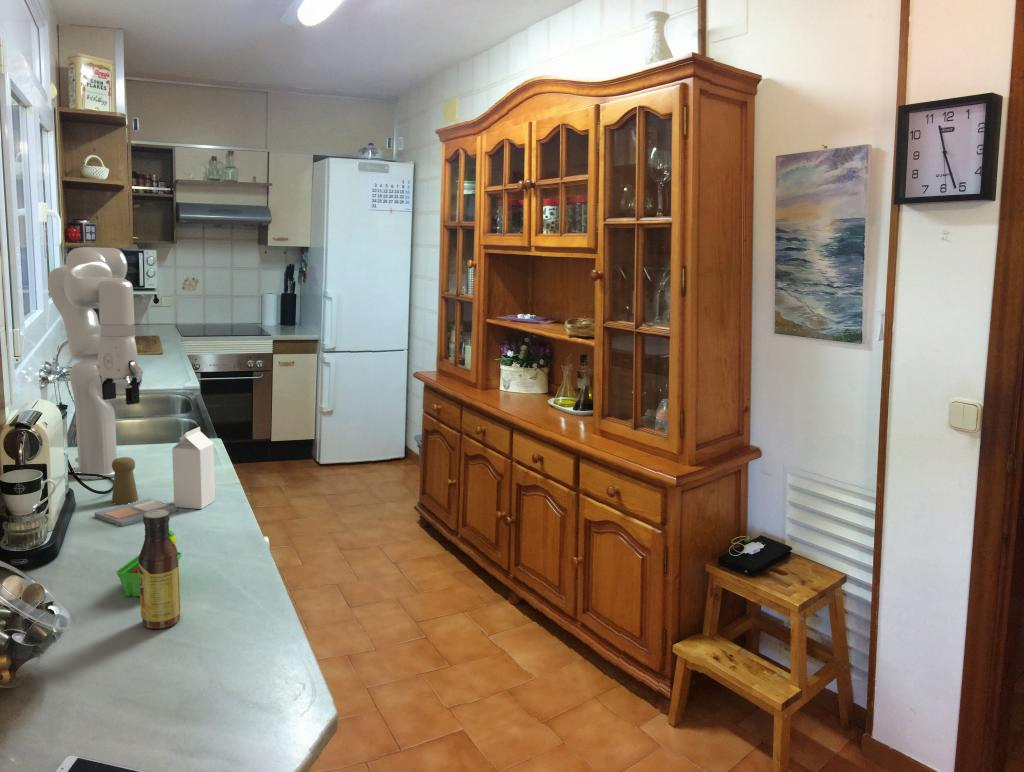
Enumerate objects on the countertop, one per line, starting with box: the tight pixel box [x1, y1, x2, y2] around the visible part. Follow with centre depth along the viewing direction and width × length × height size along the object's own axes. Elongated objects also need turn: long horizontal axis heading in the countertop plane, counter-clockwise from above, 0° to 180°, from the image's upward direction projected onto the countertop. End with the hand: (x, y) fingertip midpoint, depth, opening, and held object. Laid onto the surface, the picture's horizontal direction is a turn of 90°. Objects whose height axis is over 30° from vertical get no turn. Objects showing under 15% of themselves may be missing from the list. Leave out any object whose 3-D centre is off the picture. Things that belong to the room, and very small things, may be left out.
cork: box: [111, 456, 139, 505], centre depth 199 cm, size 6×6×11 cm
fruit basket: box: [116, 529, 182, 597], centre depth 151 cm, size 11×9×11 cm
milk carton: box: [171, 426, 216, 510], centre depth 198 cm, size 7×7×19 cm
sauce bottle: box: [138, 510, 182, 630], centre depth 136 cm, size 6×6×20 cm
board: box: [94, 498, 178, 527], centre depth 191 cm, size 11×14×1 cm
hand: (121, 401), depth 195 cm, fingers open, 9 cm apart
